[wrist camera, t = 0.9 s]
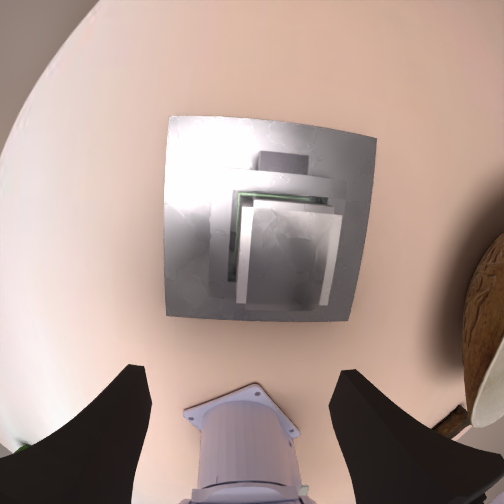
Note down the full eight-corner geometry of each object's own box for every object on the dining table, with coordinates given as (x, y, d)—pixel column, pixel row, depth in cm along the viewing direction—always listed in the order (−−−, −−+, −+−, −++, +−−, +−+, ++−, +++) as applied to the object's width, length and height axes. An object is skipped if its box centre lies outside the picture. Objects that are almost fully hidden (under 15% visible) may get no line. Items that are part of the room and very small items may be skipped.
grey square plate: (343, 314, 21) (363, 343, 17) (169, 309, 20) (156, 340, 16) (369, 139, 17) (401, 135, 13) (172, 118, 16) (156, 106, 12)
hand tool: (460, 400, 28) (475, 419, 23) (462, 409, 29) (476, 427, 24) (352, 472, 30) (360, 495, 26) (362, 477, 31) (370, 498, 27)
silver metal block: (298, 266, 18) (327, 311, 12) (233, 262, 18) (234, 309, 12) (307, 193, 17) (344, 208, 11) (238, 187, 16) (241, 199, 11)
